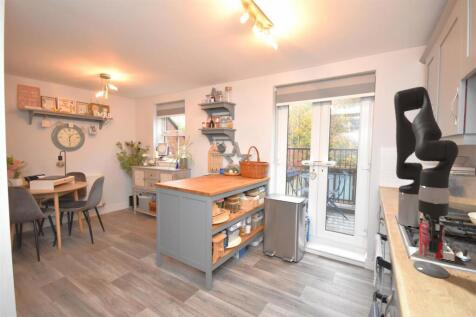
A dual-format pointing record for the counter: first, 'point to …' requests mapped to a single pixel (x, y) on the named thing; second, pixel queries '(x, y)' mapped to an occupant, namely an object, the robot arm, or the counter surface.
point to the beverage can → (425, 243)
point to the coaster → (431, 269)
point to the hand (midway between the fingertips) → (430, 247)
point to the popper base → (448, 254)
